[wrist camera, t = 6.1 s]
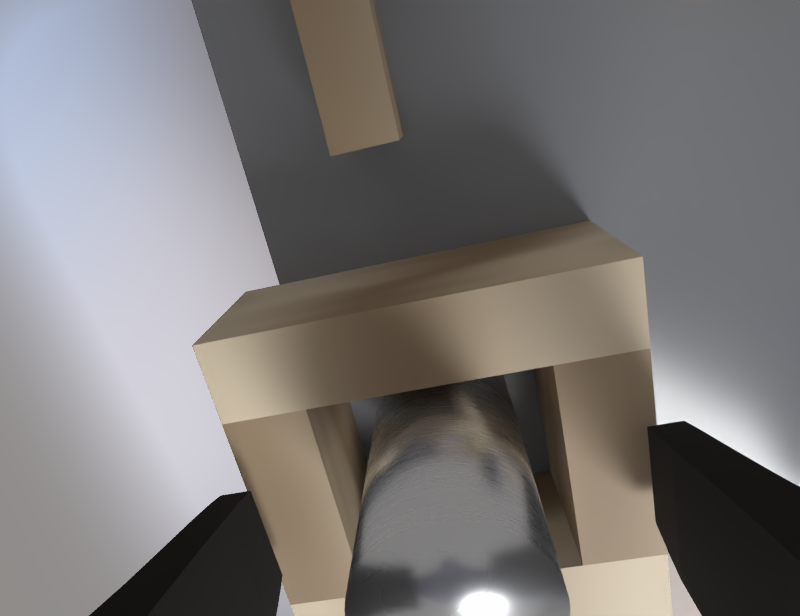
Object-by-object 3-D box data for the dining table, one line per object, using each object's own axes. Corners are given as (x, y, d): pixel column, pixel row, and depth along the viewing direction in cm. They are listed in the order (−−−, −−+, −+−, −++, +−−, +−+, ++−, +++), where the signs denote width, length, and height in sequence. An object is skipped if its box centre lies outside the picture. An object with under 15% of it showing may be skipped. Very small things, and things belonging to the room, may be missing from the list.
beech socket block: (589, 220, 11) (642, 256, 9) (622, 513, 14) (672, 616, 11) (246, 291, 12) (192, 345, 10) (333, 555, 15) (311, 660, 12)
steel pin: (504, 332, 12) (569, 517, 7) (510, 446, 13) (571, 691, 8) (372, 343, 13) (328, 531, 7) (387, 454, 14) (360, 698, 8)
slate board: (1083, -520, 8) (1124, -560, 8) (959, 456, 13) (978, 469, 13) (136, -209, 10) (121, -225, 9) (366, 543, 15) (364, 556, 15)
